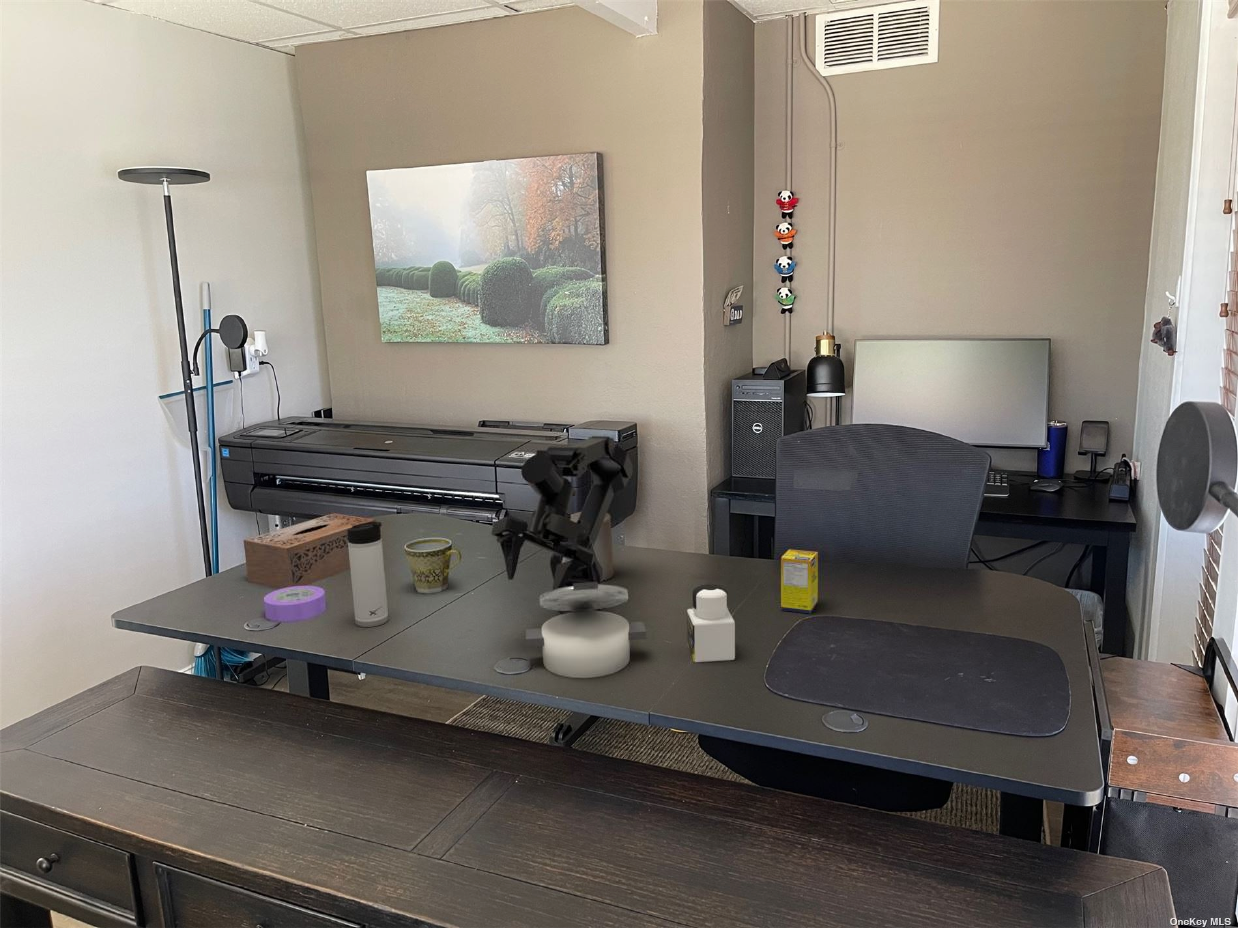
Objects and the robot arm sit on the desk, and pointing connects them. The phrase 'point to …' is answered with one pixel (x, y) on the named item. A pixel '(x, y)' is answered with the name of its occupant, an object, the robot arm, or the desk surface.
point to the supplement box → (799, 581)
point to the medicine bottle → (710, 625)
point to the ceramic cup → (430, 563)
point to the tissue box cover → (301, 552)
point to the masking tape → (294, 603)
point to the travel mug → (367, 574)
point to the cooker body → (585, 643)
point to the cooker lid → (583, 597)
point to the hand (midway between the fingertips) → (532, 588)
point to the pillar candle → (602, 546)
